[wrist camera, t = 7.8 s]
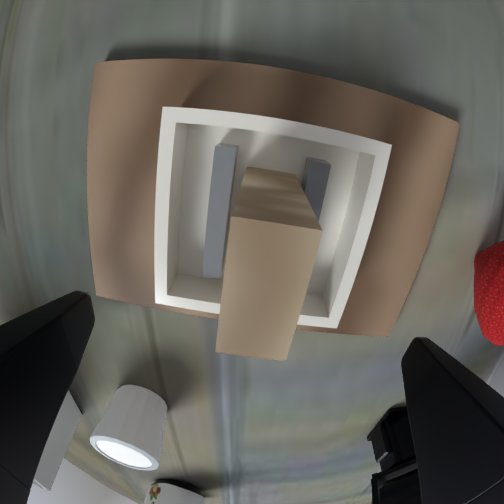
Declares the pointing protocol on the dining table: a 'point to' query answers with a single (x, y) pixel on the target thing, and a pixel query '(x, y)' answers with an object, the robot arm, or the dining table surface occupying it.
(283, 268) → the tan cardboard-colored prism
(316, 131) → the white rectangular tray
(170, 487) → the spread jar
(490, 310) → the strawberry
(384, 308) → the brown slab
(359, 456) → the dining table surface
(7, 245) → the dining table surface
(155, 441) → the white cup
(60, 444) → the soap bottle
